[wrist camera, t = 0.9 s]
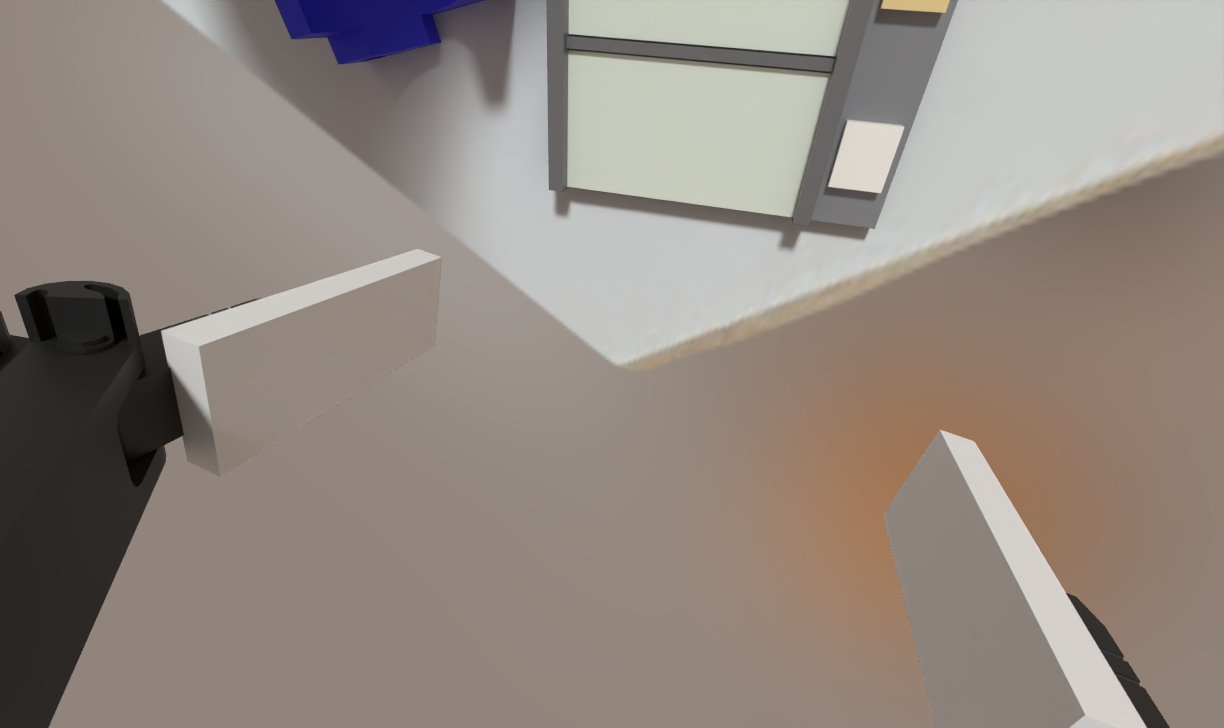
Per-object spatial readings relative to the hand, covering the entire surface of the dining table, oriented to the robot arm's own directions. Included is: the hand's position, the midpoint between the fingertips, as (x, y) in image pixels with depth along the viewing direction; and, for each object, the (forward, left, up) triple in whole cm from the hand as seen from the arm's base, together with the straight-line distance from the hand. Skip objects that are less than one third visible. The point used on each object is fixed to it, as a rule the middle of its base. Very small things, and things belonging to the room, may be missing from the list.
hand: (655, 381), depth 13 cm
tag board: (-6, -1, -25) cm, 25 cm away
